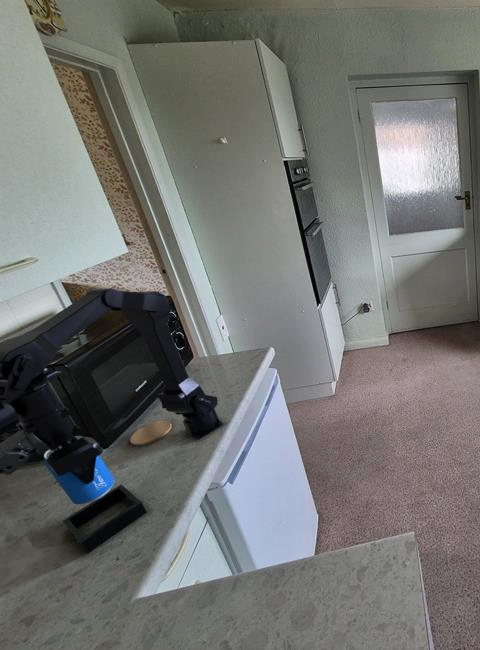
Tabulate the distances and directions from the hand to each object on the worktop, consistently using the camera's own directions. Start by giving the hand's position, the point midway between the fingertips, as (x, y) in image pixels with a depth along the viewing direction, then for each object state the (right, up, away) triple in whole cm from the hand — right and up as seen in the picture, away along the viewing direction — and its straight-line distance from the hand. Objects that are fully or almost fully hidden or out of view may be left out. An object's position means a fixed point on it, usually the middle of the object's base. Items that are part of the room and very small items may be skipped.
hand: (83, 475), depth 73 cm
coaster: (-10, -1, +29) cm, 30 cm away
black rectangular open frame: (+1, -11, +4) cm, 12 cm away
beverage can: (0, -4, +2) cm, 5 cm away
